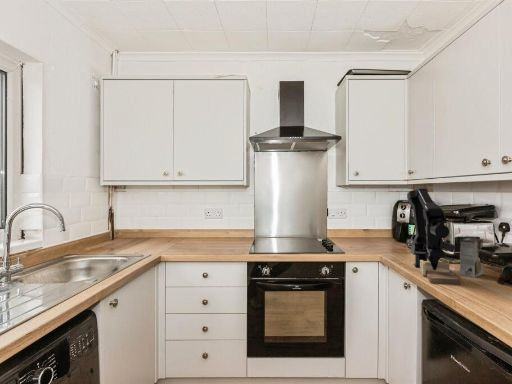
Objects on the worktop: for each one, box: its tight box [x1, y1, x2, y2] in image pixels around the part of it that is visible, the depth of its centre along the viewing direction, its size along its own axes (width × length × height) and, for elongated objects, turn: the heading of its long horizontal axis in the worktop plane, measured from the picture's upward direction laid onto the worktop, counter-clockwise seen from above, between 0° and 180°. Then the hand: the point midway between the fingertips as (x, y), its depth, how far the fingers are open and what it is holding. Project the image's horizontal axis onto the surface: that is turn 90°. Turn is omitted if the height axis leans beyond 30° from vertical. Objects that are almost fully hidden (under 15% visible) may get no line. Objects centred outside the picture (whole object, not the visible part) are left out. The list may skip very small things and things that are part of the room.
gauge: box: [419, 260, 450, 277], centre depth 155 cm, size 7×11×6 cm, turn 72°
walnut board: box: [425, 270, 461, 286], centre depth 149 cm, size 16×11×2 cm
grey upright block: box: [459, 237, 484, 279], centre depth 155 cm, size 9×6×16 cm
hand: (433, 269), depth 155 cm, fingers closed on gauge, 3 cm apart
